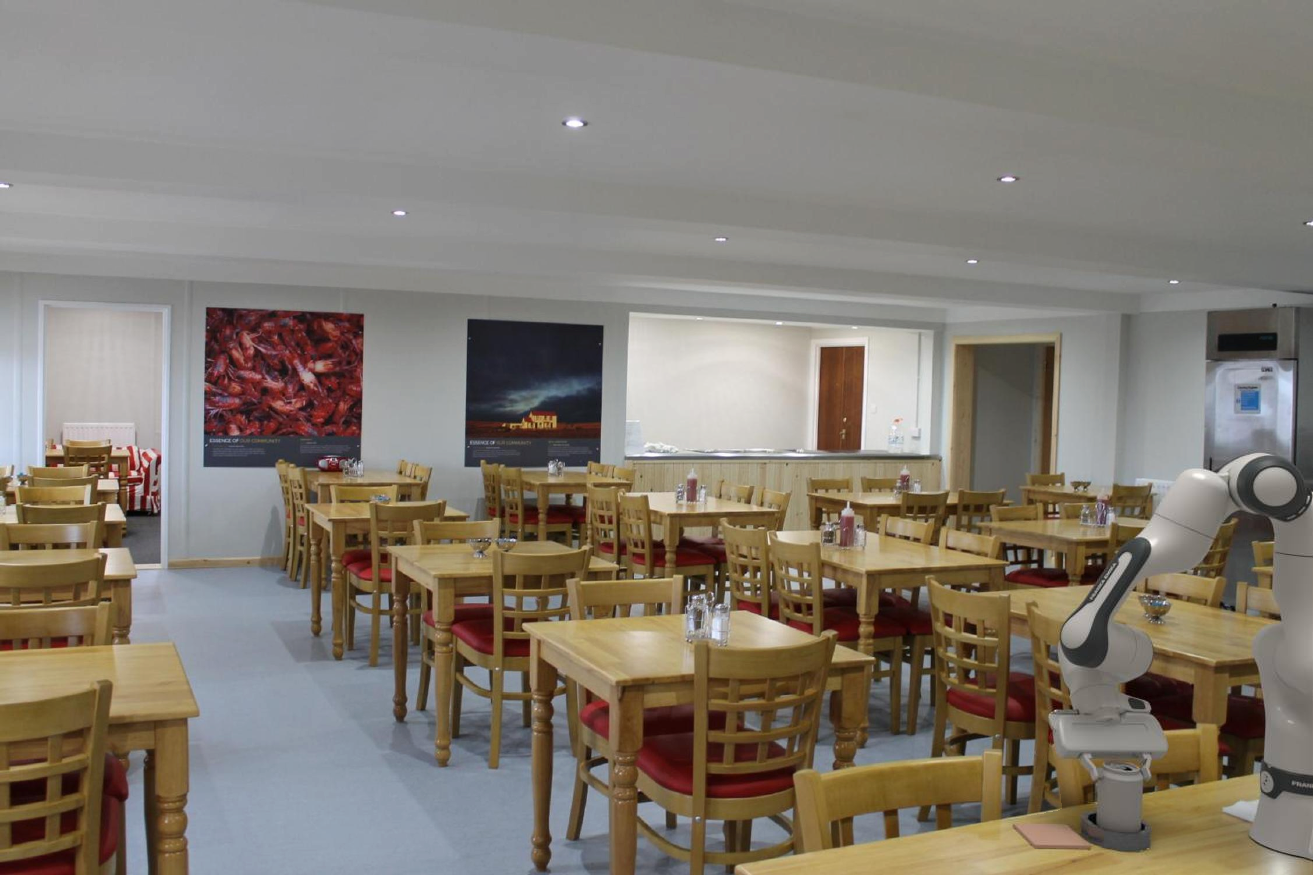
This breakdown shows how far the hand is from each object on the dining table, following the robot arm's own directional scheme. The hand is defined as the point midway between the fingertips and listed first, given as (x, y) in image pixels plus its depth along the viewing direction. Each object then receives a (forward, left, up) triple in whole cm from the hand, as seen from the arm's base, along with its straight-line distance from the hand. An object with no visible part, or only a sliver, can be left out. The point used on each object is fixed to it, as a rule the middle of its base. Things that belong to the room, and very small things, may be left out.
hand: (1122, 779), depth 202 cm
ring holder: (0, -1, -11) cm, 11 cm away
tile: (+12, -1, -11) cm, 17 cm away
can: (0, -1, -10) cm, 10 cm away
